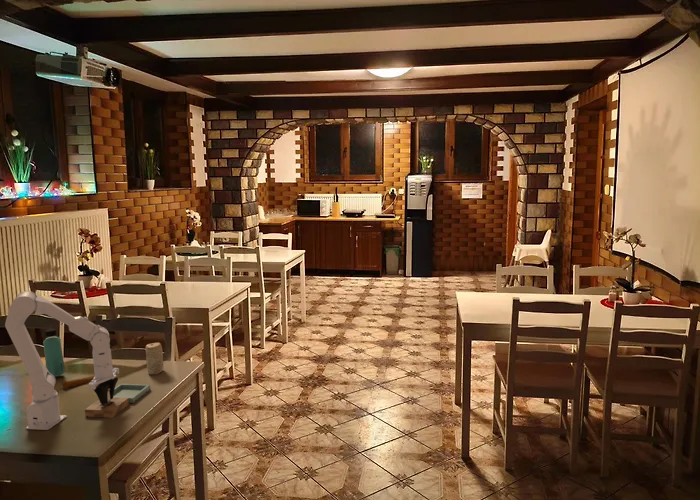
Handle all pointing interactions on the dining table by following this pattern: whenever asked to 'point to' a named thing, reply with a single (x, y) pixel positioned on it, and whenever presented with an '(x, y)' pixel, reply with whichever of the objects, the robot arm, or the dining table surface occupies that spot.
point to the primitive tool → (77, 382)
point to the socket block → (107, 408)
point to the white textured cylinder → (154, 358)
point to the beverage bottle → (53, 353)
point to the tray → (131, 391)
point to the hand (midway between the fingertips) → (106, 401)
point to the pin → (108, 399)
